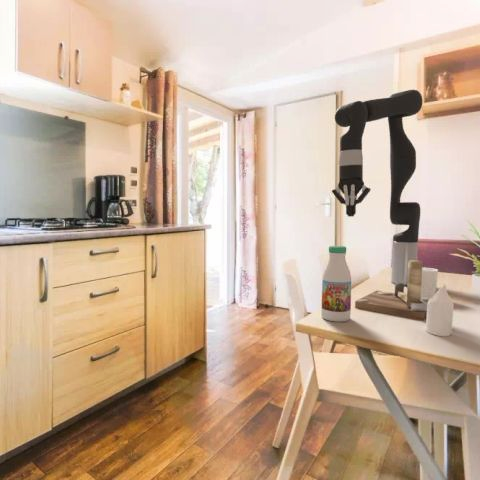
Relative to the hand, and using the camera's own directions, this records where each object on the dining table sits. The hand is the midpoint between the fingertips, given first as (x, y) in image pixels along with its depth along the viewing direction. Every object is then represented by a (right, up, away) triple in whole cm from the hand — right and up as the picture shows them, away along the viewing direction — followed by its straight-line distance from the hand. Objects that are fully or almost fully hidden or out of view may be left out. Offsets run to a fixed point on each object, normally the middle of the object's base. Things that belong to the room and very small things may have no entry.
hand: (350, 216), depth 117 cm
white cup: (+25, -28, 0) cm, 38 cm away
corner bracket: (+12, -28, -20) cm, 36 cm away
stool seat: (+11, -29, -11) cm, 33 cm away
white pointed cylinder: (+11, -31, -33) cm, 47 cm away
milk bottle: (-11, -30, -22) cm, 39 cm away
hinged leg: (+13, -27, -13) cm, 32 cm away
